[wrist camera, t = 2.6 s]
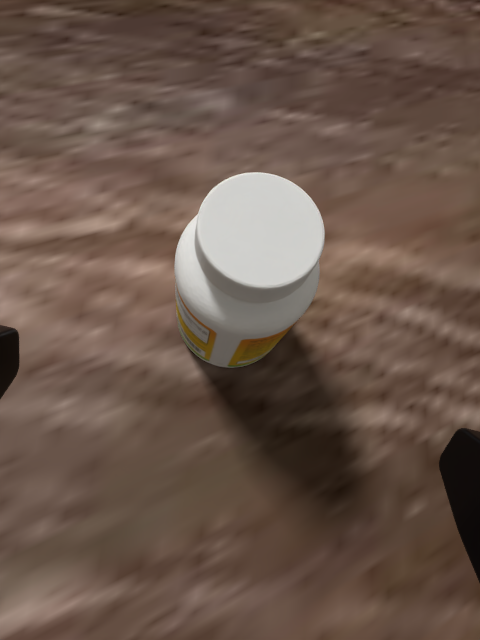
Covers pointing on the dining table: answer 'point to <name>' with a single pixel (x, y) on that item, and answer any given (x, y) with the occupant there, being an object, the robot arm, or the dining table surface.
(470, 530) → the robot arm
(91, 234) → the dining table surface
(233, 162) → the dining table surface
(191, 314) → the supplement bottle
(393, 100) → the dining table surface
